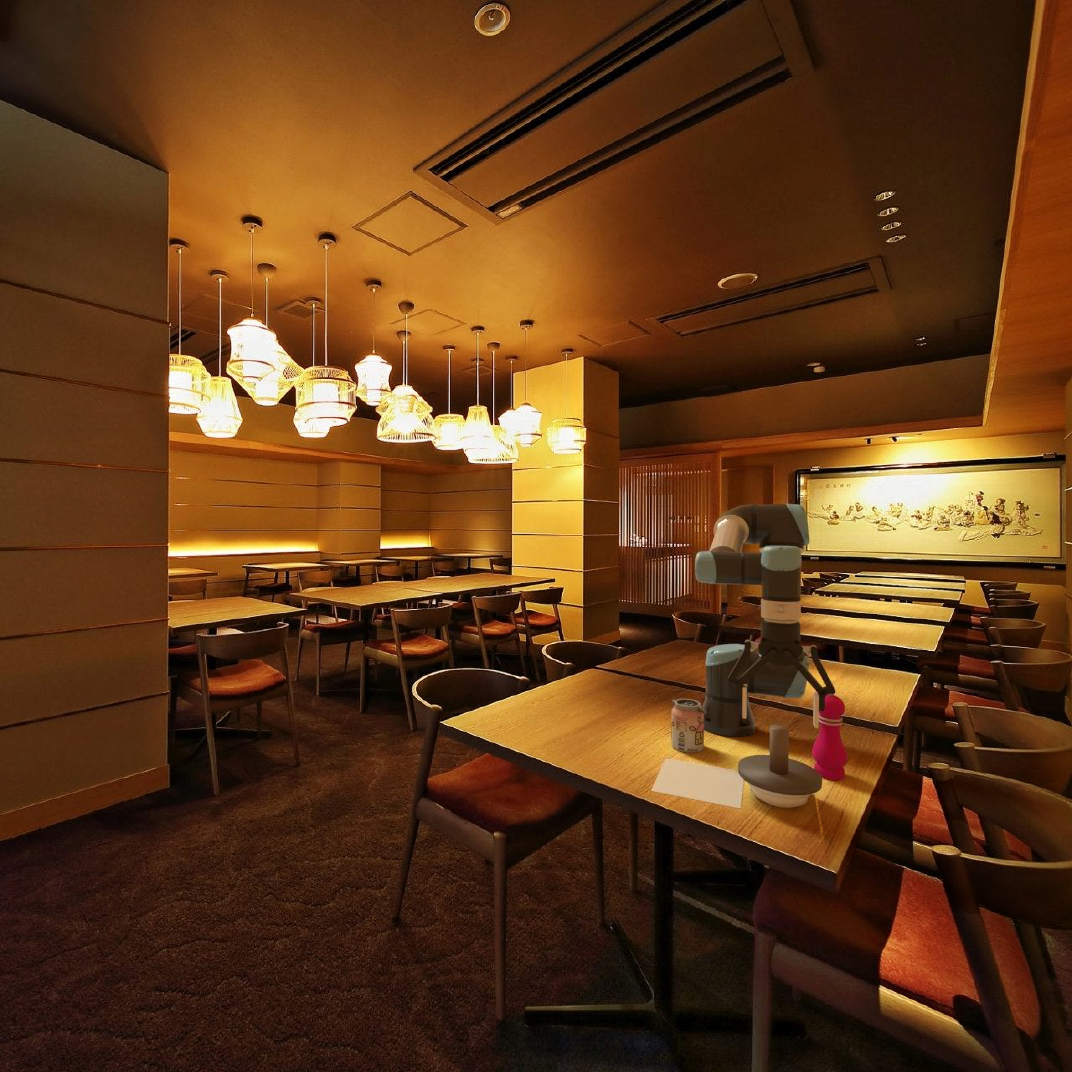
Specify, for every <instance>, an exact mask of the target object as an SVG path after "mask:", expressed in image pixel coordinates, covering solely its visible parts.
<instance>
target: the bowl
mask: <svg viewBox="0 0 1072 1072" xmlns="http://www.w3.org/2000/svg"><path fill="white" fill-rule="evenodd" d="M746 783H747V785H748V786H749V789H750V792H751V793H752V795H753V796H754V797H756V798H758V799H759V800H761V801H763V802H764V803H767V804H768V805H770V806H774V807H778V808H784V809H785V808H787V809H788V808H789V809H790V808H795V807H801V806H804V805H806V804H807V803H808V802H809V797H810V796H812V795H813V794H809V795H785V794H778V793H774V792H770V791H766V790H763V789H760V788H758V787H756V786H753V785H751V784H750V783H748V782H746Z"/></svg>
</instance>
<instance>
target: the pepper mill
mask: <svg viewBox="0 0 1072 1072" xmlns="http://www.w3.org/2000/svg"><path fill="white" fill-rule="evenodd" d="M835 694H836V692H835V693H834V694H828V695H826V696H825V710H824V711H819V732H818V736H817V738H816V739H815V740H814V743H813V745H812V748H811V749H812V750H811V751H812V752H811V756H812V758H813V759H814V761H815V763H814V765H813V768H814V769H815V770H816V771H818V772H819V773H820V775H821V777H822V779H826V780H829V781H830V780H831V781H841V780H844V779H845V778H846V777H845V776H846V770H845V767H844V766H846V764H847V763H848V759H849V758H848V754H847V750H846V748H845V745H844V743H843V740H842V736H841V726H842V725H843V717H842V716H843V715H844V714H845V711H846V706H845V703H844V701H843V699H842V698H840V697H839V696H837V695H835Z"/></svg>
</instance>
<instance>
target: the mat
mask: <svg viewBox="0 0 1072 1072" xmlns="http://www.w3.org/2000/svg"><path fill="white" fill-rule="evenodd" d="M744 781H745V780H744V779H743V778H742V777H741V776H740V775H739V773H738V769H731V768H724V767H719V766H714V765H708V764H702V763H697V762H692V761H691V762H689V761H684V760H681V759H680V760H679V759H673V758H665V759H664V761H663V763H662V765H661V768H660V769H659V771H658V774H657V776H656V779H655V781H654V783H653V785H652V788H651V790H650V791H651V792H655V793H658V794H664V795H670V796H673V797H679V798H684V799H690V800H695V801H699V802H704V803H708V804H714V805H718V806H724V807H730V808H735V809H740V810H741V809H742V801H743V791H744V790H743V789H744Z"/></svg>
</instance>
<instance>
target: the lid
mask: <svg viewBox="0 0 1072 1072" xmlns="http://www.w3.org/2000/svg"><path fill="white" fill-rule="evenodd" d="M789 730H790V729H789V727H787V726H784V725H780V724H772V725H769V754H755V755H753V754H751V755H747V756H746V757H743V758H741V759H740V760H739V761H738V762H737V770H738V773H739V775H740V776H741V777H742V778H743V779H744V781H745V782H746V783H747V782H748V783H750V784H751V785H753V786H756V787H758V788H760V789H763V790H766V791H770V792H774V793H778V794H785V795H809V794H812V795H813V794H816V793H818V792H819V791H821V790H822V787H823V778H822V777H821V775H820V773H819V772H818V771H816V770H815V769H814V767H812V766H810V765H809V764H807V763H804V762H803V761H799V760H796V759H793V758H789V749H790V748H789V746H790V745H789V743H790V741H789V740H790V739H789V738H790V737H789V735H790V731H789ZM748 783H747V784H748Z"/></svg>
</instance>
